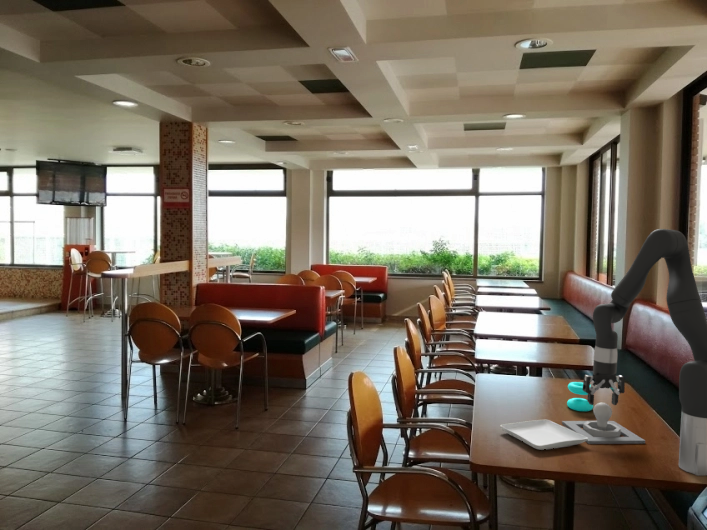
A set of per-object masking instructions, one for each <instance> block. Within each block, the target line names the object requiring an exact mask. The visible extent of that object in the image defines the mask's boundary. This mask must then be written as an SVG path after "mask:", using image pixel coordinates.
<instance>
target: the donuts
mask: <svg viewBox="0 0 707 530" xmlns="http://www.w3.org/2000/svg"><path fill="white" fill-rule="evenodd" d="M590 387H591V384H590ZM567 389H568V390H569V392H571V393H573V394H575V395H581V396H588V393H586V392H585V391H583V381H570V382H569V383H568V385H567ZM566 405H567V407H568V408H569V409H570V410H572V411H577V412H590V411H592V410H593V409H594V404H593V405H590V404H589V402H588V401H587V399H586V398H582V397H573V398H569V399H568V400H567V402H566Z"/></svg>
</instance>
